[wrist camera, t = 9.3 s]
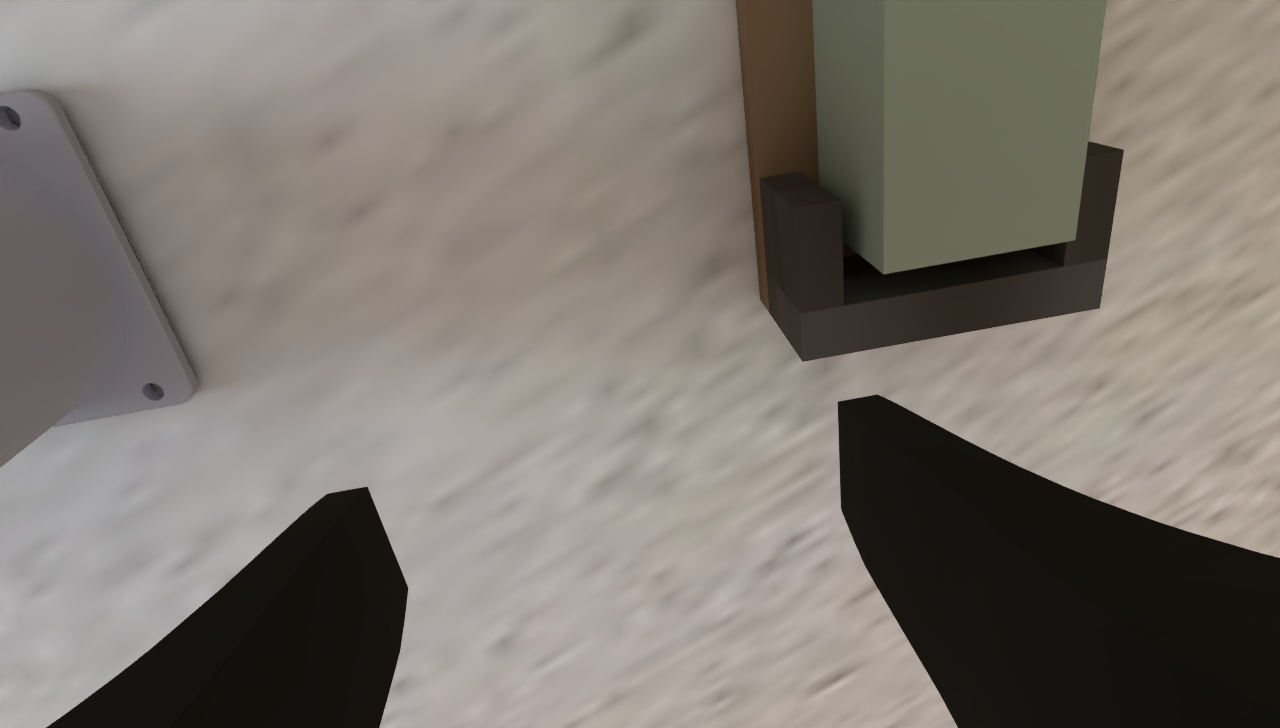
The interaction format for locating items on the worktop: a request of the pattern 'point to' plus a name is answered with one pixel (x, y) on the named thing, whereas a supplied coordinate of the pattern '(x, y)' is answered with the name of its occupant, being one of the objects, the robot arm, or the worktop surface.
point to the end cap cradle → (836, 274)
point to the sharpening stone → (954, 123)
